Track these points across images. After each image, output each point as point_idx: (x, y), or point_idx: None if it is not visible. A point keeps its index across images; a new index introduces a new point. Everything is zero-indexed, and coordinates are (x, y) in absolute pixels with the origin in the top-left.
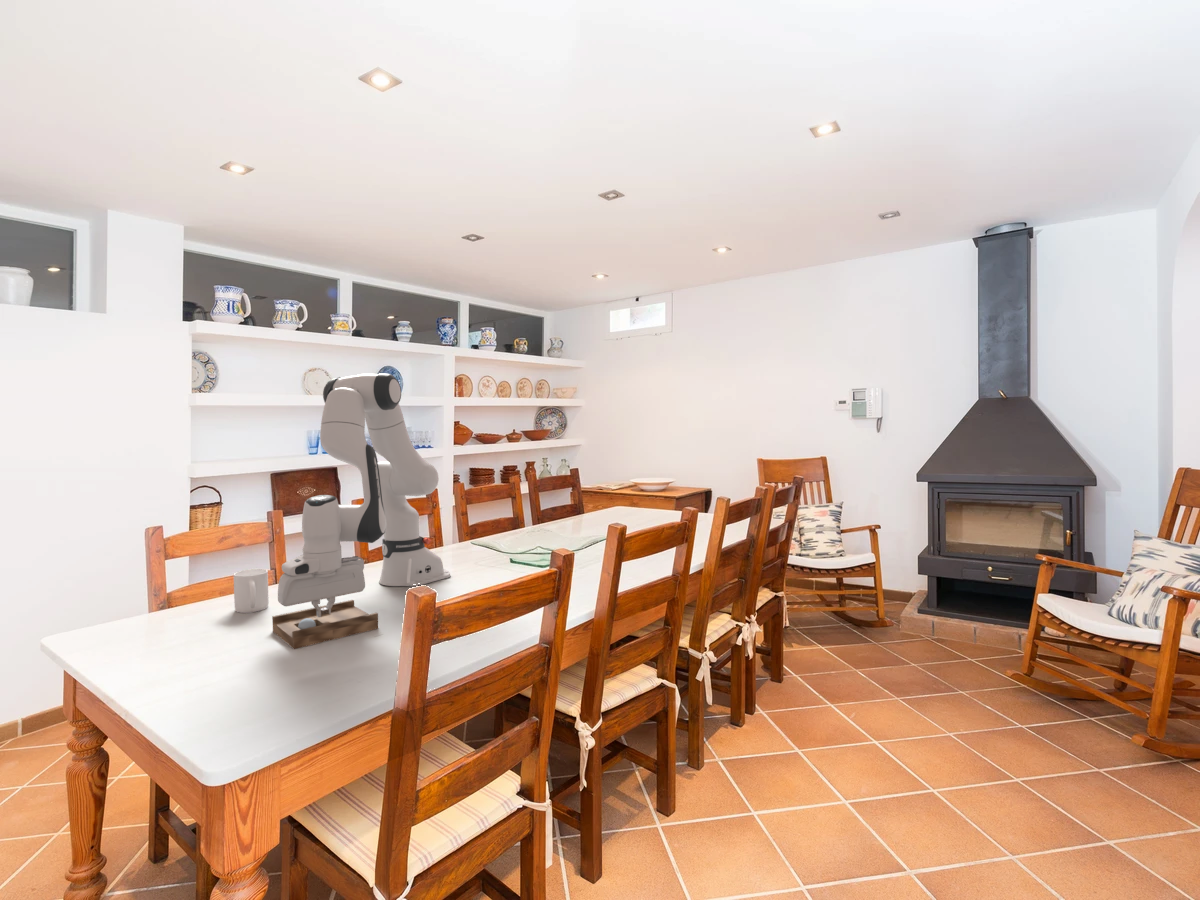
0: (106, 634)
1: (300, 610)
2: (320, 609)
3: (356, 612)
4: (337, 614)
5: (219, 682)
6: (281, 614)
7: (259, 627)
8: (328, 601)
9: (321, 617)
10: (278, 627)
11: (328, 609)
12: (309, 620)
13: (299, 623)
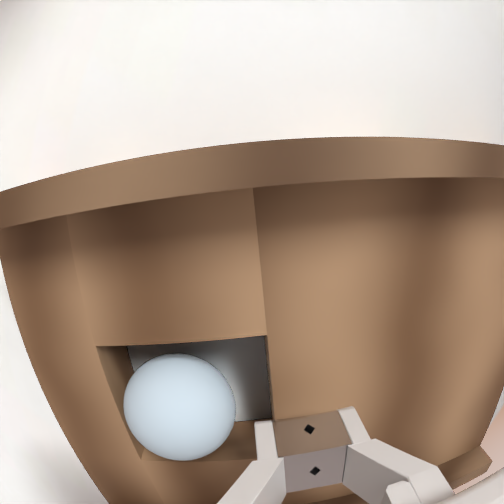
0: None
1: (153, 158)
2: (277, 500)
3: (497, 328)
4: (423, 306)
5: (5, 499)
6: (5, 193)
7: (3, 79)
8: (392, 474)
9: (312, 311)
10: (21, 329)
11: (342, 479)
12: (188, 457)
13: (127, 422)
